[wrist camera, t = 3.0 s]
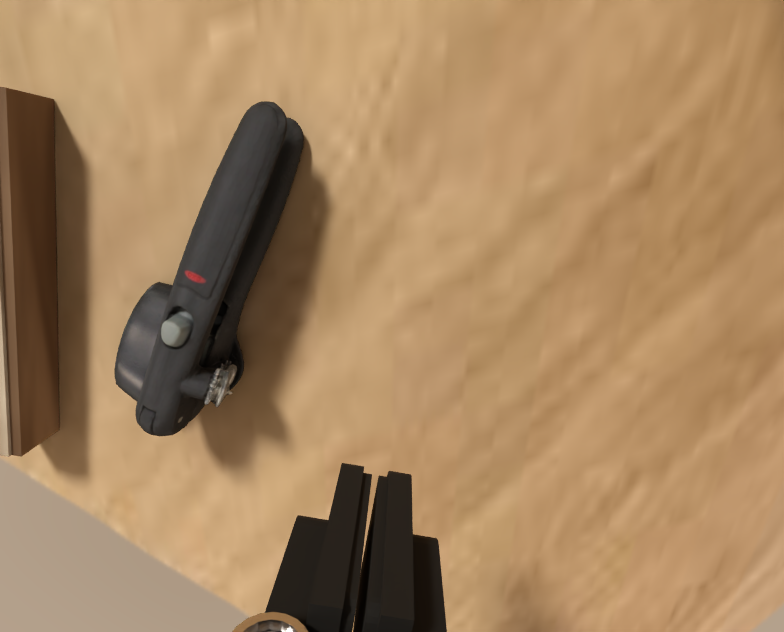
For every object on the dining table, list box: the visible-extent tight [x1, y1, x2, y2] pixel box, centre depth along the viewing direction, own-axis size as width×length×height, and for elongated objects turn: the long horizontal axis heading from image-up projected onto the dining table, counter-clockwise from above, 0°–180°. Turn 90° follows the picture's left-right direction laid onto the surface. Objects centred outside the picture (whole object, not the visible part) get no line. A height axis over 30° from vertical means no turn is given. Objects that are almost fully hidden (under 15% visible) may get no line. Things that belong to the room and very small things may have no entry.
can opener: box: [115, 102, 304, 436], centre depth 24 cm, size 18×7×6 cm, turn 152°
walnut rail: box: [0, 87, 59, 457], centre depth 25 cm, size 2×19×3 cm, turn 170°
